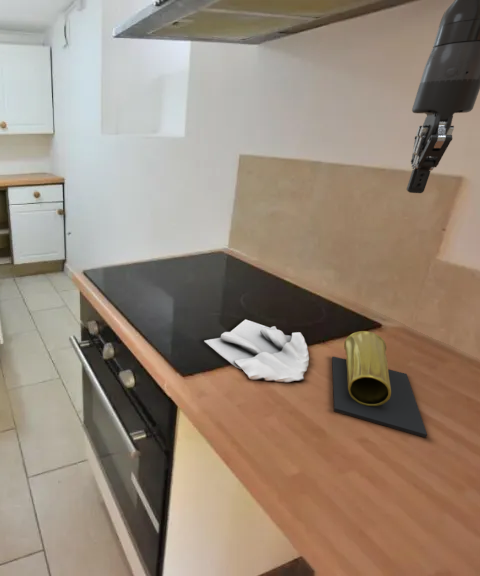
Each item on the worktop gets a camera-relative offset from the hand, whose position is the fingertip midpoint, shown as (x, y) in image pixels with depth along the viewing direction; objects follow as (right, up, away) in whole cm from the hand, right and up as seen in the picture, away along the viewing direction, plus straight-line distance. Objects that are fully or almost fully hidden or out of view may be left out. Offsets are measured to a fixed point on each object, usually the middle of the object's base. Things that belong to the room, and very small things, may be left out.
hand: (414, 192), depth 66 cm
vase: (-8, -27, +2) cm, 28 cm away
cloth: (-23, -28, +7) cm, 37 cm away
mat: (-11, -34, -5) cm, 36 cm away
